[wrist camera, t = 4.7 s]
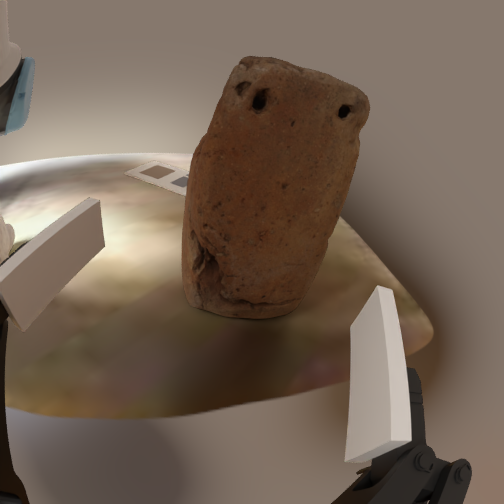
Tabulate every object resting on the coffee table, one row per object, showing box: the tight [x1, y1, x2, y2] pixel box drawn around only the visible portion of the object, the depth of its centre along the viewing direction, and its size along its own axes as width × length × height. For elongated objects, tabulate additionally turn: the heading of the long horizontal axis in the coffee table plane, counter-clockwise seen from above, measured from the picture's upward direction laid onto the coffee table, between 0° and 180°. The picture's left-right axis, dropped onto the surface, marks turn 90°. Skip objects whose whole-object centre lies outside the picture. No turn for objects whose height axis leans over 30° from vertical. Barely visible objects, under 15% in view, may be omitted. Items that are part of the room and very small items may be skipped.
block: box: [182, 56, 370, 319], centre depth 20 cm, size 11×8×20 cm
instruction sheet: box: [124, 161, 189, 196], centre depth 43 cm, size 15×8×1 cm, turn 66°
